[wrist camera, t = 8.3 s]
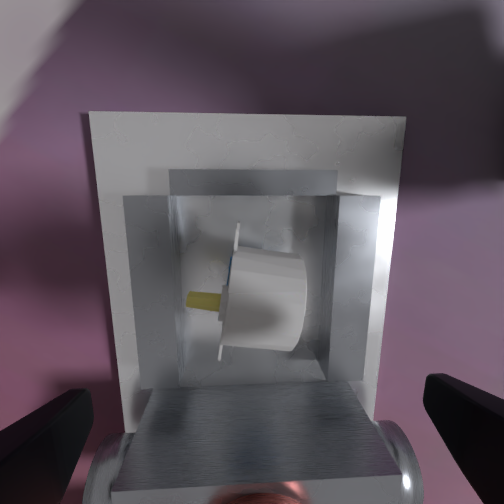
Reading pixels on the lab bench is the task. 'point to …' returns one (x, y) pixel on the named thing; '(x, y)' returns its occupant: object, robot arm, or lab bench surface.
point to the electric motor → (259, 299)
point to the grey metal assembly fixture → (210, 329)
